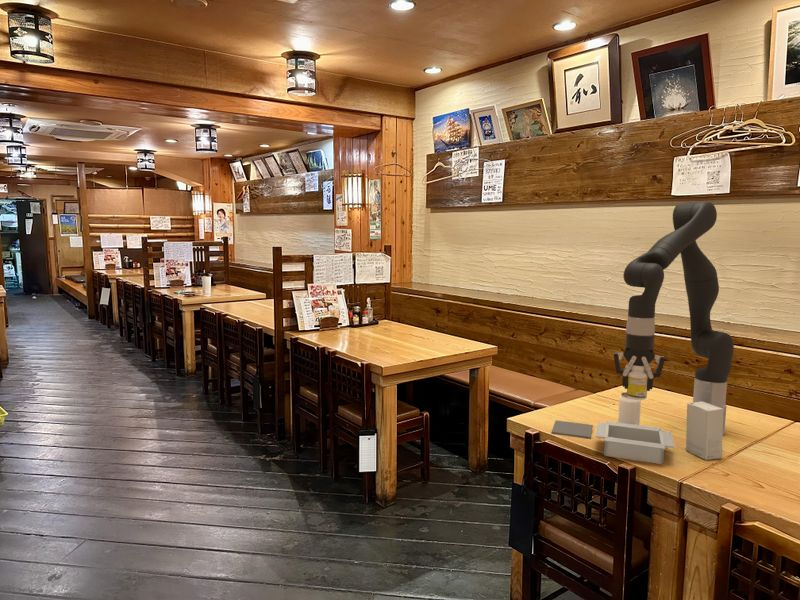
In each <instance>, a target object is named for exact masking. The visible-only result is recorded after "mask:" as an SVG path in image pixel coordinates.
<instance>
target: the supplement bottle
mask: <svg viewBox="0 0 800 600" xmlns="http://www.w3.org/2000/svg"><path fill="white" fill-rule="evenodd" d="M627 375H628V382H627V389H626V392H627V397H628V398H631V399H636V400H641V401H643V400H647V398H648V391H647V383H648V374H647V371H646V369H645V366H636V365H632V367H631V369H630V371H629V372H628V374H627Z"/></svg>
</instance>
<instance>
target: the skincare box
mask: <svg viewBox="0 0 800 600" xmlns="http://www.w3.org/2000/svg"><path fill="white" fill-rule="evenodd" d="M686 405H687V406H686V430H685V431H686V435H685V436H686V438H685V451H687V452H688V453H691V454H693V455H695V456H697V457H699V458H701V459H703V460H705V461H709V460H722V458H723V440H724V439H723V436H724V435H723V408H720V407H717V406H714V405H711V404H708V403H705V402H694V403H693V402H687V404H686Z"/></svg>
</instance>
